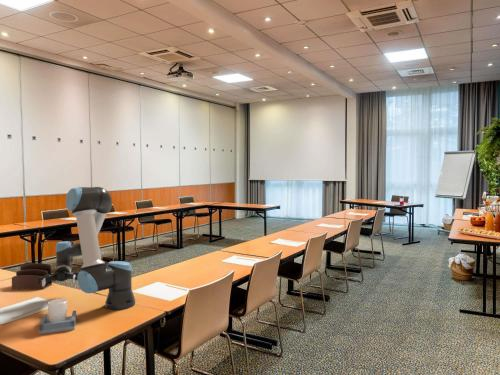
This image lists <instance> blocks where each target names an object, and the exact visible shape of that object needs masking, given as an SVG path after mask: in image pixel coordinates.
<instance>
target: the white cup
mask: <svg viewBox="0 0 500 375" xmlns="http://www.w3.org/2000/svg"><path fill="white" fill-rule="evenodd" d="M67 308H68V299H67V298H55V299H52V300H51V299H50V300H49V301H48V302H47V311H48V312H47V314H48V319H49V321H50V323H52V322H60V321H66V317H67V312H68V309H67Z"/></svg>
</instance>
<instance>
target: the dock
mask: <svg viewBox="0 0 500 375" xmlns="http://www.w3.org/2000/svg"><path fill="white" fill-rule="evenodd" d="M71 313H72V314H71V315H69V316H66V321H60V322H52V323H50V321H49V318H48V313H45V314H43V315H42V317H41V320H40V322H39V325H38V327H39V328H38V331H39V332H38V334H39V335H44V334H51V333H59V332H66V331H73V330H76V324H77V310H72V312H71Z"/></svg>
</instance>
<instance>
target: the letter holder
mask: <svg viewBox="0 0 500 375" xmlns="http://www.w3.org/2000/svg"><path fill="white" fill-rule="evenodd" d="M19 267H20V269H19V270H17V271H16V273H15V275H14V276H12V277H11V290H45V289H47V288H49V287H50V286H52V285H53V281H49V282H46V284H45V286H44V287H42V284H41V283H40V284H38V278H40V277H43V276H45V275H47V274H50V275H52V274H53V273H52V265H51V264H48V263H41V262H40V263H39V262H38V263H36V262H35V263H23V264H20V266H19Z"/></svg>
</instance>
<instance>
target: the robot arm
mask: <svg viewBox="0 0 500 375" xmlns="http://www.w3.org/2000/svg"><path fill="white" fill-rule="evenodd" d="M65 206H66V208H67V209H66V210H68V211H70V212H71V214H72V216H73V217H75V218H76V224H77V231H78V236H79V242H77V243H71V241H70V240H69V241H67V240H66V241H58V242H57V243H56V244H55V256H56V263H55V264H56V269H55V270H54V273H52V275H50V274H47V275H45V276H43V277H40V278H38V284H40V283H41V284H42V287H44V286H45V284H46V282H49V281H52V282H54V281H55V282H56V281H57V282H65V281H68V280H72V283H73V284H76V281H77V284H78V286H79V288H80V290H81V291H82V292H83V293H85V294H95V293H97V292H102V291H106V290H108V293H107V296H106V298H105V299H106V300H105V308H106V309H107V310H108V309H109V310H125V309H129V308H131V307H133V306H135V305H136V298H135V295H134V292H133V287H132V285H133V284H132V281H133V280H132V279H133V278H132V264H131V263H130V262H128V261H121V260H120V261H119V260H115V261H114V260H113V261H109V262H108V263H107V265H106V262H105V261H104V260H103V259H102V256H101V250H100V249H101V248H100V243H99V233H100V231H101V230H102V229H101V228H102V227H103V223H104V221H105V219H106V217H107V214H109V213H110V212H111V209H112V206H113V199H112V195H111V194H110V192H109V191H108V190H107V189H106V188H104V187H100V186H85V187H83V186H79V187H72V188H70V189H69V190H68V192H67V193H66V198H65ZM75 257H82V262H83V263H82V265H81V267H80V271H79V272H78V271H73V272H72V270H73V266H72V258H75Z"/></svg>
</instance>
